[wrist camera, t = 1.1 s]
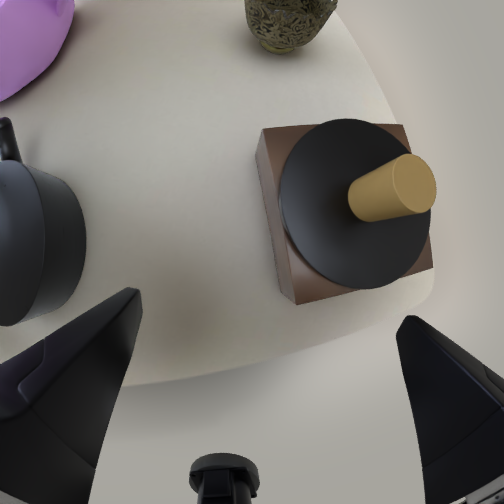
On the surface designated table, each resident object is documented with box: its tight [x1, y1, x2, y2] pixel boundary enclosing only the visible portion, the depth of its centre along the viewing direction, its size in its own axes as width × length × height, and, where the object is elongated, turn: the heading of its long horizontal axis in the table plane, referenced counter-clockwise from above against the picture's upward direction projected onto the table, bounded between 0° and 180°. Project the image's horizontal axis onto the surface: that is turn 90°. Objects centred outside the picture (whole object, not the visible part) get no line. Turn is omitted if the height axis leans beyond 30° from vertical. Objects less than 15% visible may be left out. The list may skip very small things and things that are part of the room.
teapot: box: [0, 0, 75, 102], centre depth 11 cm, size 23×21×15 cm
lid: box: [278, 119, 436, 289], centre depth 13 cm, size 11×11×6 cm
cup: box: [245, 0, 338, 54], centre depth 17 cm, size 8×7×8 cm
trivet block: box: [255, 123, 433, 305], centre depth 19 cm, size 11×11×5 cm
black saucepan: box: [0, 117, 86, 326], centre depth 16 cm, size 18×13×6 cm
